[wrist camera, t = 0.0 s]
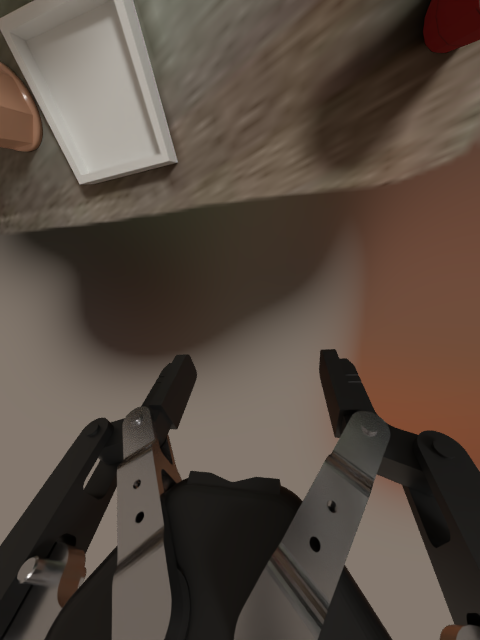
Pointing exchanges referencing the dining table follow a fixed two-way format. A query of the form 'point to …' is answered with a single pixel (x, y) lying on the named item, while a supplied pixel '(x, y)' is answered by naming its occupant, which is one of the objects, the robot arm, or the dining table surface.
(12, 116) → the sleeve cup
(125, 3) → the grey tray
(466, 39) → the plastic cup
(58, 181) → the dining table surface
